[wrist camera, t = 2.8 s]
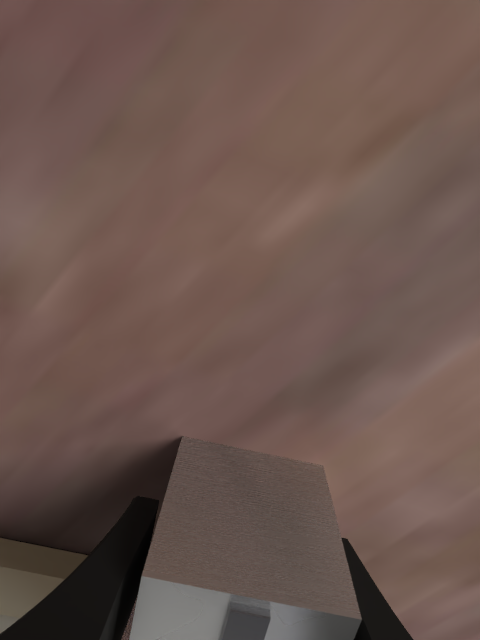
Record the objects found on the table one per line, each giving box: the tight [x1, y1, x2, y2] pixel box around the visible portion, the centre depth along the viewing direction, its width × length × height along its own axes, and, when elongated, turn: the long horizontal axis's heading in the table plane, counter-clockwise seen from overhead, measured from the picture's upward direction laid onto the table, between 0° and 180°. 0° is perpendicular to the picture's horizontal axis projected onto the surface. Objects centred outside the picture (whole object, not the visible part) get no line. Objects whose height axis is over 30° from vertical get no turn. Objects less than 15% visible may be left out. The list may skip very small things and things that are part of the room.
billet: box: [129, 436, 362, 640], centre depth 11 cm, size 4×4×5 cm
